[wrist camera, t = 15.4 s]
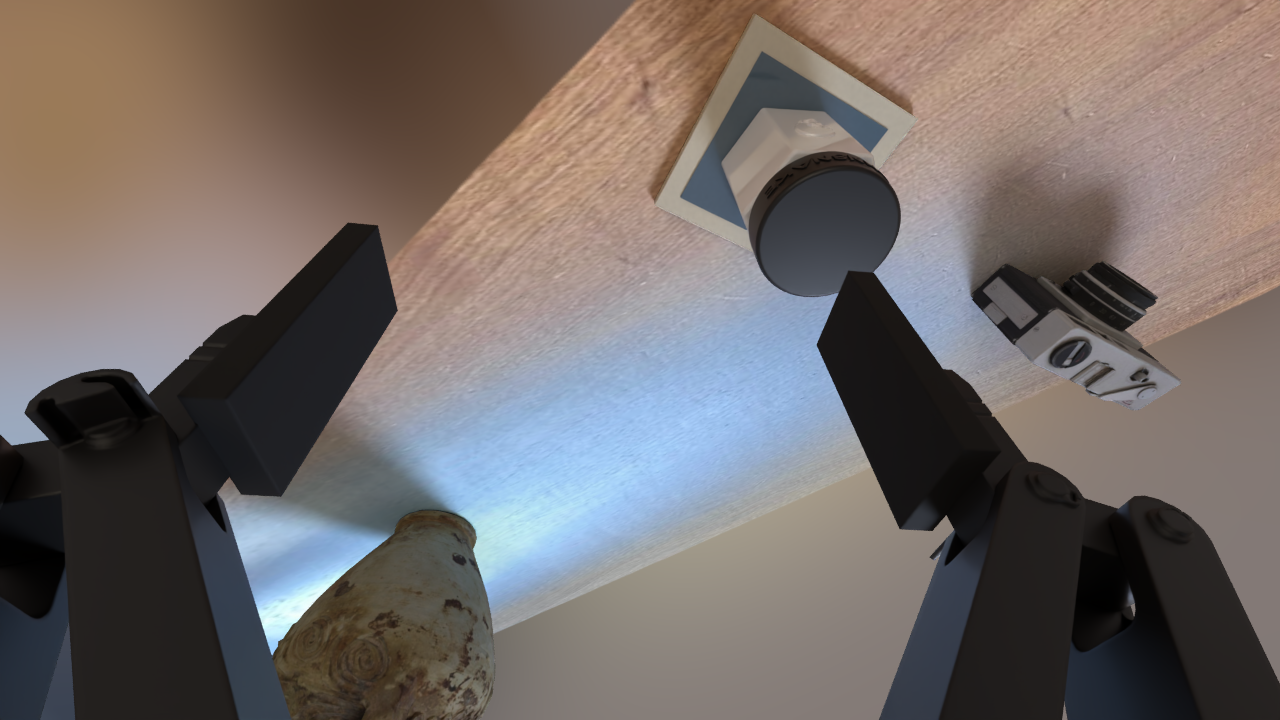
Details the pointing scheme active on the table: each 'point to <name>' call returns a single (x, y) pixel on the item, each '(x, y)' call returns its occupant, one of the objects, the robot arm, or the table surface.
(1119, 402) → the camera
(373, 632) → the vase
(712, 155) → the tile
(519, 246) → the table surface
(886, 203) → the jar
